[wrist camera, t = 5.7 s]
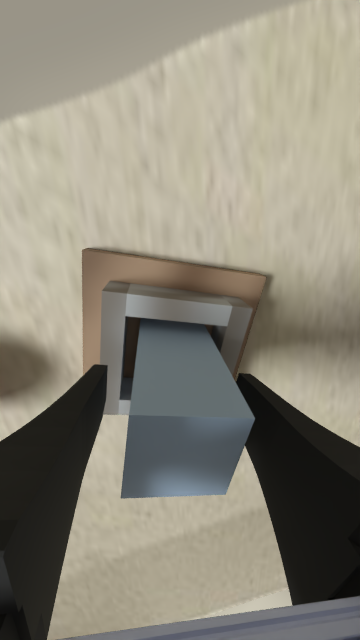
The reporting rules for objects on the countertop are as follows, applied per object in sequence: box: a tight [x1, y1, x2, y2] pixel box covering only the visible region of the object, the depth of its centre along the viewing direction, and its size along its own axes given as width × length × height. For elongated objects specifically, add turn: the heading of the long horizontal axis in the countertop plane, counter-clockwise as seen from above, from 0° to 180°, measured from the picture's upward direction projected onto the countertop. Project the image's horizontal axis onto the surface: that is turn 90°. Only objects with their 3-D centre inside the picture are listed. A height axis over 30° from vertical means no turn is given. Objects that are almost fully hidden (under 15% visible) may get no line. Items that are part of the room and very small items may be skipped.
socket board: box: [82, 248, 267, 415], centre depth 14 cm, size 11×11×3 cm
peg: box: [121, 318, 255, 498], centre depth 11 cm, size 4×4×8 cm
